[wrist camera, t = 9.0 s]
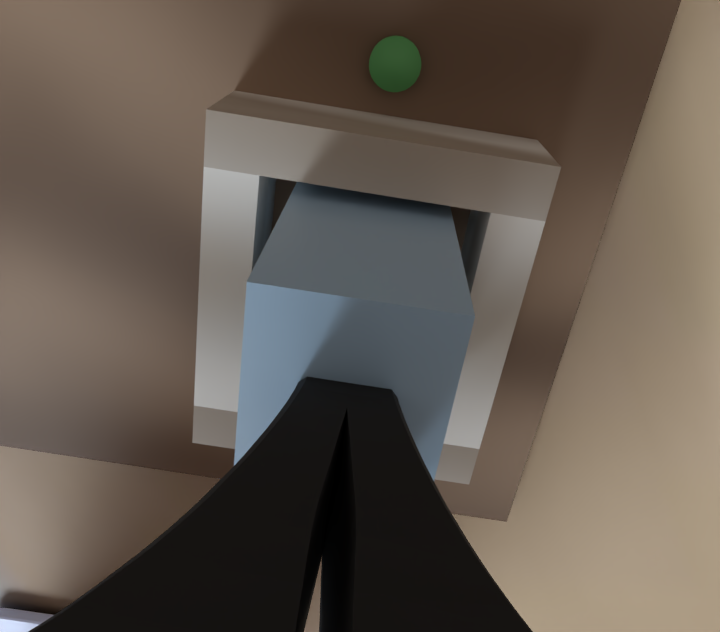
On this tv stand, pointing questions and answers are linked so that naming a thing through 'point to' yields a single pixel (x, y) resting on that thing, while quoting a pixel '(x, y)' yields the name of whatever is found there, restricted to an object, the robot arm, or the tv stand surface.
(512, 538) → the tv stand surface
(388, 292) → the plug
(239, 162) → the brown tray
